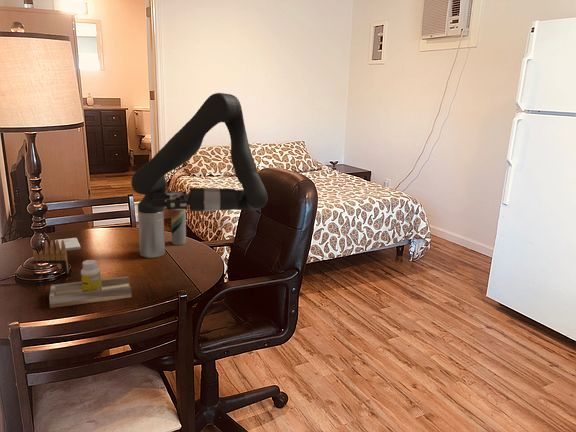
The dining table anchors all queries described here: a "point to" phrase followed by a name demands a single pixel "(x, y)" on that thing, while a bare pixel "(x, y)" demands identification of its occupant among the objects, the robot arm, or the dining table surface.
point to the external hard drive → (70, 244)
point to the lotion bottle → (178, 226)
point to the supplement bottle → (90, 276)
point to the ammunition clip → (53, 255)
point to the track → (89, 292)
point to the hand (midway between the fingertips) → (152, 200)
